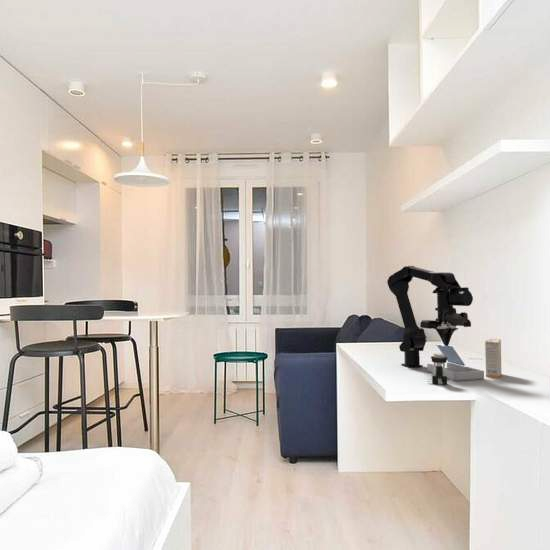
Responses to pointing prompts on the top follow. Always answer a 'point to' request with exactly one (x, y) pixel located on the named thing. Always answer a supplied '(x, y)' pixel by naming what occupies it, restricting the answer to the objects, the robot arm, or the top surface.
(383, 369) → the top surface
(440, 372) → the push button
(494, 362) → the supplement box
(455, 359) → the panel
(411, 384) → the top surface
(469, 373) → the grey tray
